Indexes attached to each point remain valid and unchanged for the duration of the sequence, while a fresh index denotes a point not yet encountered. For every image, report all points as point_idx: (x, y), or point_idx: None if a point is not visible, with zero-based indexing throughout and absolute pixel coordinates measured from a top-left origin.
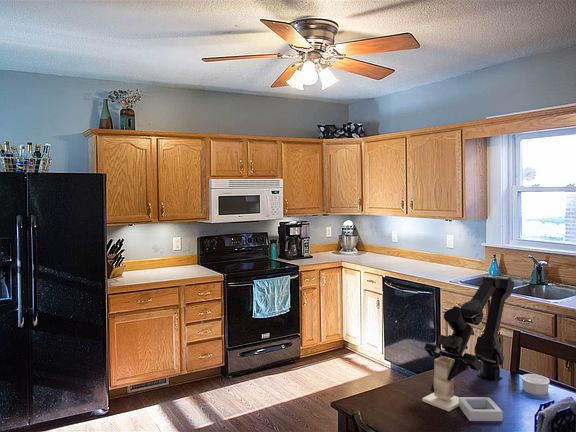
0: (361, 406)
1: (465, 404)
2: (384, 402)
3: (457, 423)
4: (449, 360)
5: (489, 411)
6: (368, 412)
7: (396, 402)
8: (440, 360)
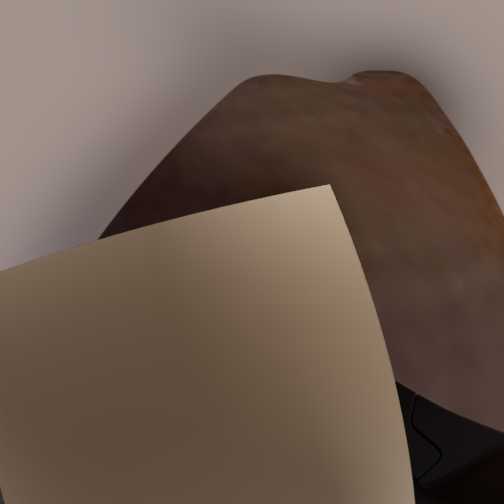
0: (375, 96)
1: None
2: (386, 154)
3: None
4: (25, 491)
5: None
6: (331, 91)
7: (372, 187)
8: (146, 286)
